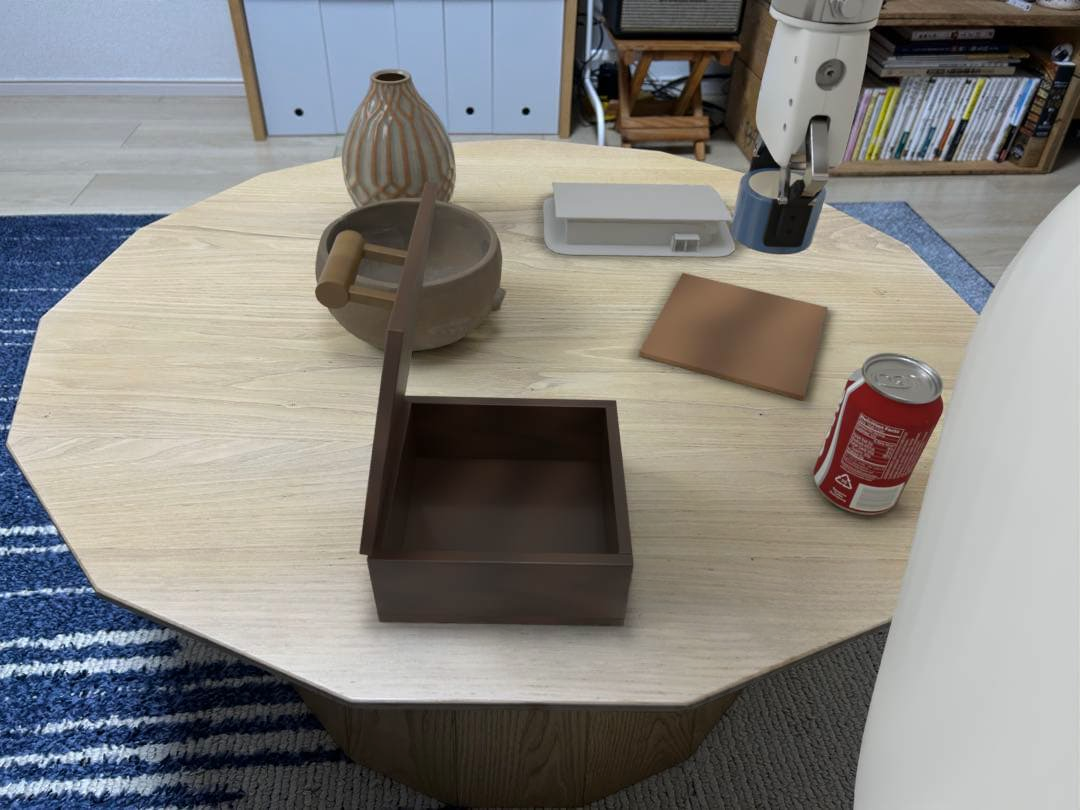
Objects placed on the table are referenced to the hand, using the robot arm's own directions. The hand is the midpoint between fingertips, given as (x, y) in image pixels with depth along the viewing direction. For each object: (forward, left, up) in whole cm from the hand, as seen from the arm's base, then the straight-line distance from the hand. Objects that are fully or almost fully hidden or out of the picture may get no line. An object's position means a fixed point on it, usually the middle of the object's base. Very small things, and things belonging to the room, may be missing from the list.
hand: (771, 220), depth 66 cm
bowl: (+31, +9, -15) cm, 36 cm away
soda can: (-13, +14, -15) cm, 24 cm away
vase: (+43, -9, -15) cm, 47 cm away
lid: (+17, +32, +1) cm, 36 cm away
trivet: (+1, -4, -15) cm, 15 cm away
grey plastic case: (+17, -21, -15) cm, 31 cm away
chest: (+11, +30, -15) cm, 35 cm away
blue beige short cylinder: (0, 0, -1) cm, 1 cm away
